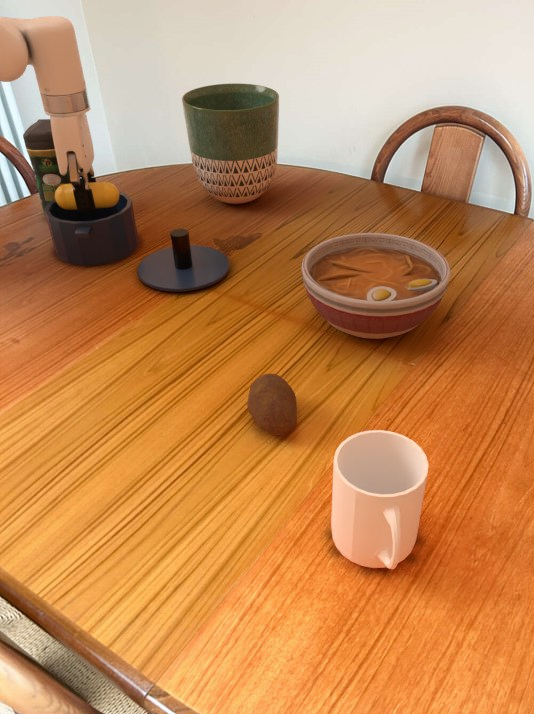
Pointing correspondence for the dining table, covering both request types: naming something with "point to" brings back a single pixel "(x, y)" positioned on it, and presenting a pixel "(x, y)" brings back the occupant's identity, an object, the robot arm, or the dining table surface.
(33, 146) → the coffee jar
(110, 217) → the pot
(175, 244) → the lid
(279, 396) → the potato
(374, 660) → the dining table surface
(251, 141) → the planter
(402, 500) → the mug
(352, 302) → the bowl
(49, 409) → the dining table surface
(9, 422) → the dining table surface
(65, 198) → the yellow capsule
